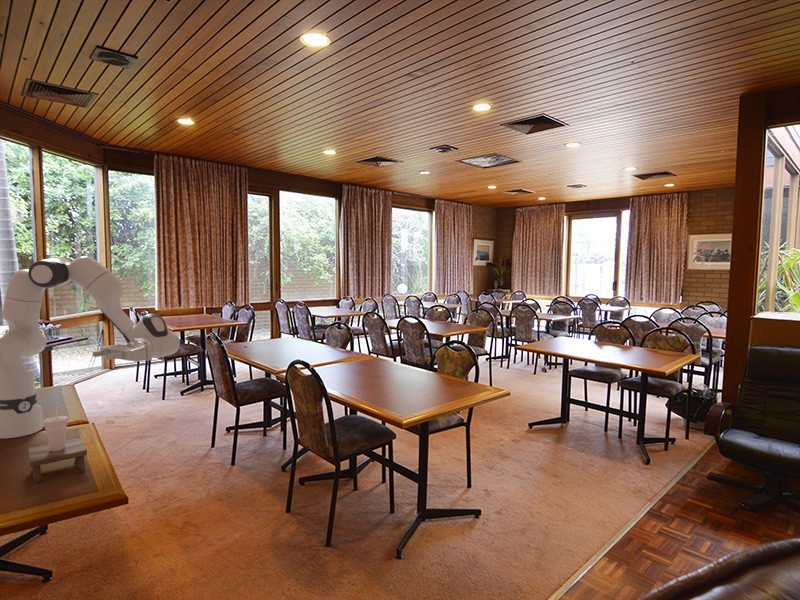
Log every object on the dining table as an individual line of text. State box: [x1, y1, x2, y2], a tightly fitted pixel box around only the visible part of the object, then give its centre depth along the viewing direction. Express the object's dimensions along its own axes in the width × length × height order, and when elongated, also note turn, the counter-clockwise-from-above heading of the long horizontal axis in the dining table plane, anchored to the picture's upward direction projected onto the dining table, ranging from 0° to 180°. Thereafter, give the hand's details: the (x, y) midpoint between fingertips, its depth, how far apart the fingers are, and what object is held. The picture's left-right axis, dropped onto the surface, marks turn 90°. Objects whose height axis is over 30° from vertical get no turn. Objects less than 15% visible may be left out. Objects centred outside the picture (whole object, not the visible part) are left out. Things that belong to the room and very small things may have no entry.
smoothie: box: [43, 404, 69, 451], centre depth 147 cm, size 6×6×14 cm
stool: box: [28, 437, 88, 484], centre depth 148 cm, size 14×14×7 cm
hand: (100, 355), depth 169 cm, fingers open, 8 cm apart
